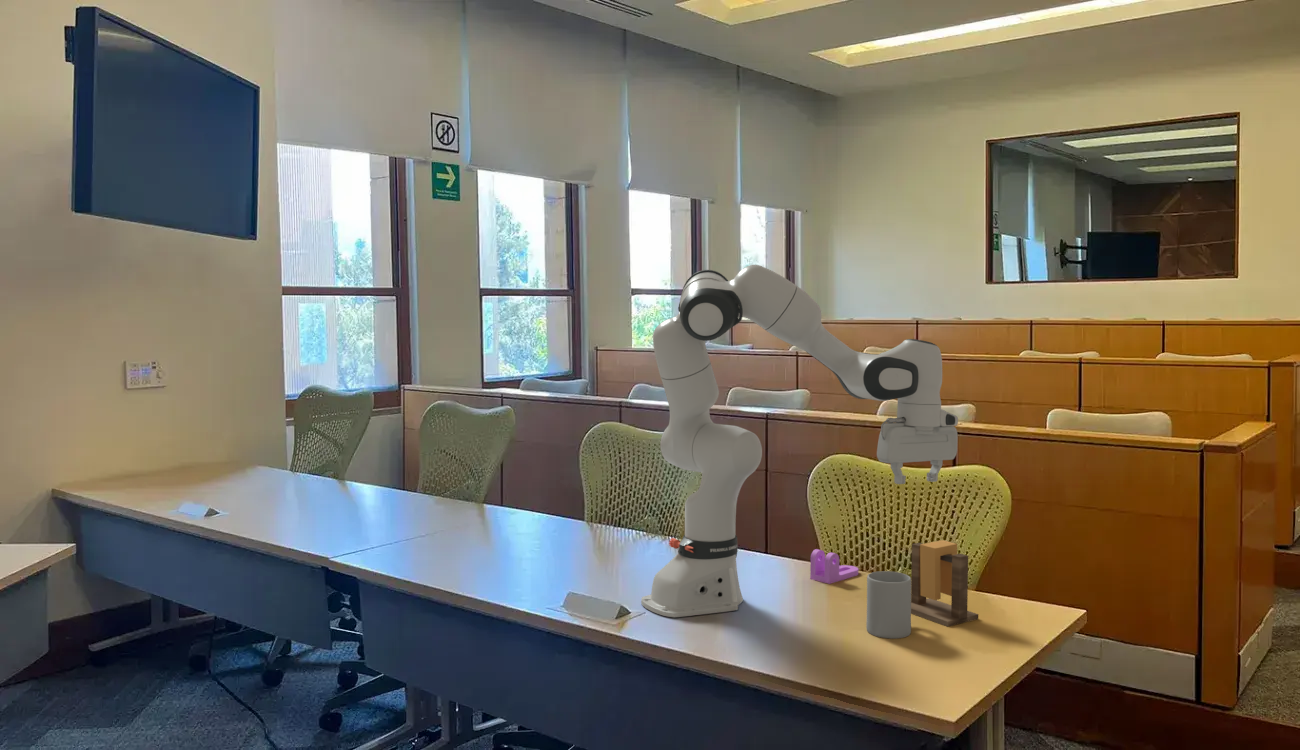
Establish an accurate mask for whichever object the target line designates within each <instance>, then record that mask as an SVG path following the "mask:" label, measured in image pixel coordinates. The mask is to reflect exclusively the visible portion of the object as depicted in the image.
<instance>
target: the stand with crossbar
mask: <svg viewBox="0 0 1300 750" xmlns="http://www.w3.org/2000/svg"><path fill="white" fill-rule="evenodd" d="M920 544H924V543H922V542H916V543H915V542H914V543H912V544H911V576H910V578H911V615H913V616H914V615H915V616H916V617H920V618H922V619H925V620H928V621H932V622H933V623H937V624H939V625H942V626H945V627H951V626H956V625H960V624H963V623H967V622H968V623H969V622H972V621H975V620H979V614H978V613H976V612H972V611H971V610H968V593H969V591H968V590H969V588H968V587H969V584H968V583H969V582H968V581H969V555H967V554H963V553H957V554H956V555H949V554H947V555H943V556H940V560H943V561H947V562H950V563H952V596H951V601H950V603H951V604H949V603H946V602H943V601H940V600H932V599H930V598H927V597H924V596H921V587H920Z"/></svg>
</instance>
